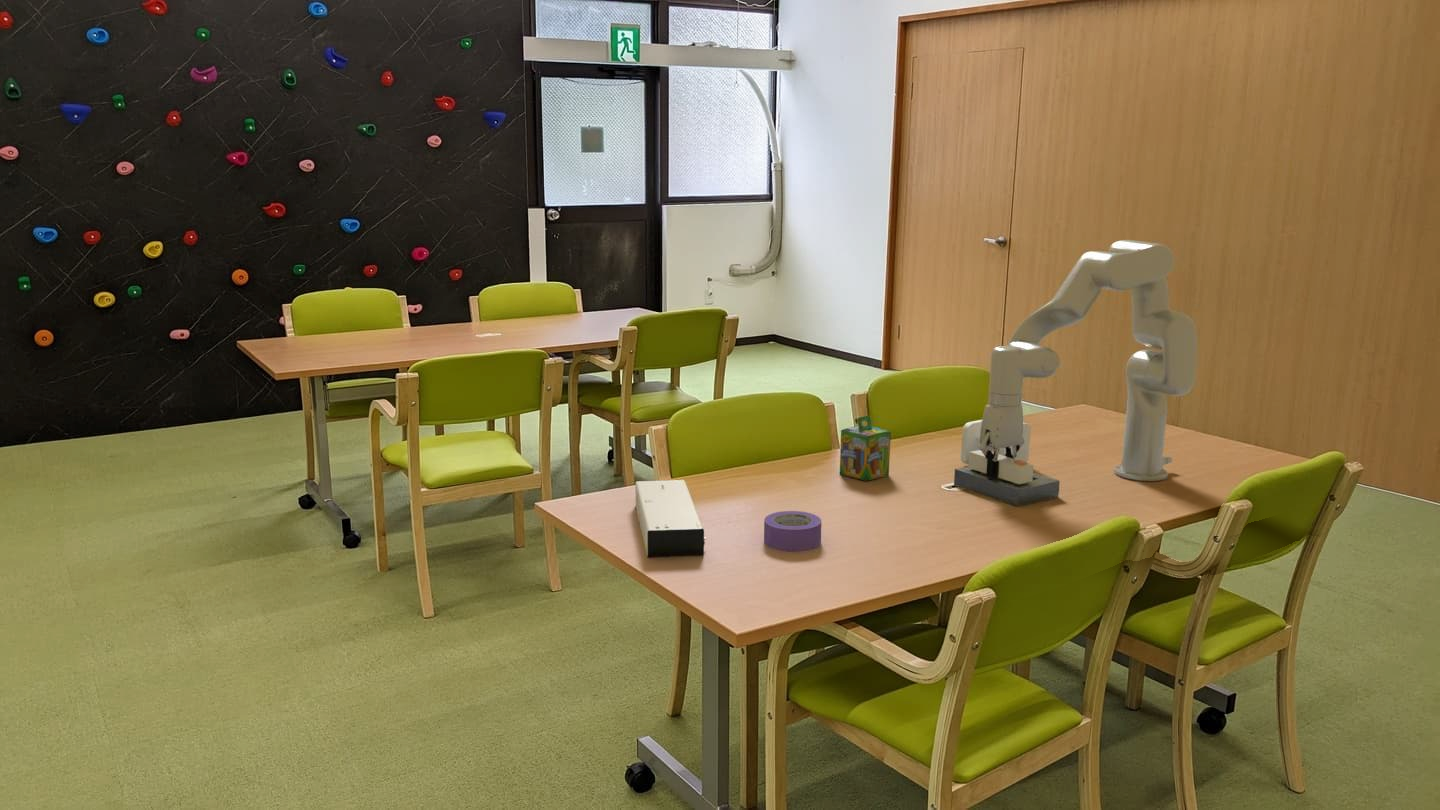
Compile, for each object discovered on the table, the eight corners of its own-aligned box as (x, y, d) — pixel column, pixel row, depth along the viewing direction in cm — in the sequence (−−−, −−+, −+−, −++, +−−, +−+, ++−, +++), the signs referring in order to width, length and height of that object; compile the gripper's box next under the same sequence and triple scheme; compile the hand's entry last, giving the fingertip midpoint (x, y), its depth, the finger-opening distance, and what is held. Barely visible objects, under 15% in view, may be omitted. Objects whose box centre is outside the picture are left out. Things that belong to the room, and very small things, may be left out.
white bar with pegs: (980, 478, 279) (982, 446, 278) (1031, 495, 266) (1033, 462, 265) (967, 481, 277) (969, 449, 275) (1018, 498, 264) (1020, 465, 262)
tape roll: (779, 555, 229) (779, 531, 228) (754, 537, 239) (754, 514, 238) (831, 548, 234) (832, 524, 233) (804, 530, 244) (805, 508, 243)
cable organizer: (990, 475, 286) (993, 430, 284) (958, 466, 294) (960, 422, 292) (1028, 466, 295) (1032, 422, 292) (996, 457, 303) (999, 414, 301)
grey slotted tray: (994, 476, 285) (995, 461, 284) (1058, 497, 269) (1059, 480, 268) (953, 484, 278) (954, 469, 277) (1016, 506, 261) (1018, 490, 260)
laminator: (635, 507, 259) (635, 481, 257) (689, 505, 260) (689, 479, 259) (647, 560, 226) (647, 530, 225) (709, 558, 228) (709, 528, 226)
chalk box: (866, 482, 279) (869, 423, 276) (838, 474, 285) (840, 416, 282) (890, 475, 285) (893, 417, 282) (862, 467, 292) (864, 411, 288)
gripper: (1017, 392, 275) (1012, 466, 279) (967, 400, 265) (962, 476, 270) (1042, 398, 268) (1036, 473, 273) (991, 406, 259) (986, 484, 263)
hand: (999, 473), depth 271 cm, fingers closed on white bar with pegs, 4 cm apart
